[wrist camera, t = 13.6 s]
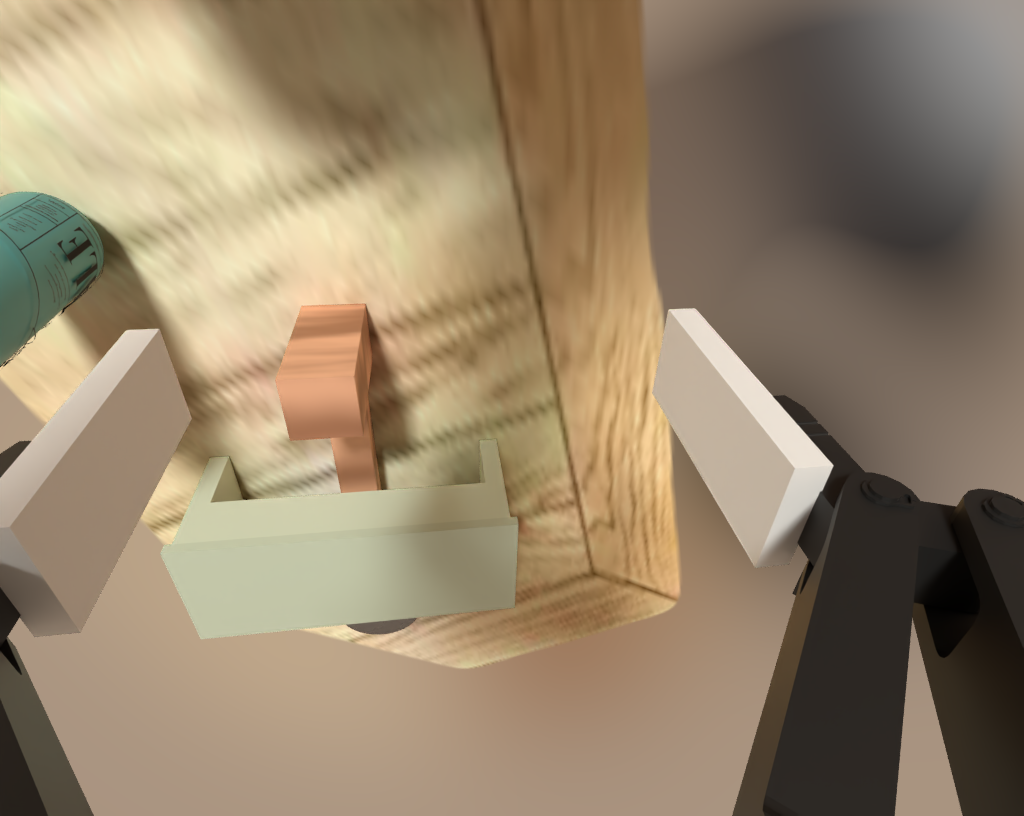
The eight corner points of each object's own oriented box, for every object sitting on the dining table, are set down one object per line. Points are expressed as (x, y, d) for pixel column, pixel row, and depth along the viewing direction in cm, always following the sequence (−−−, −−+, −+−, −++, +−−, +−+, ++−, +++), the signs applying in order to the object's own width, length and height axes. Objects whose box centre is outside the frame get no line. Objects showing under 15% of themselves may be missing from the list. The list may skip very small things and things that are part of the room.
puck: (339, 560, 58) (336, 584, 56) (421, 558, 60) (421, 582, 57) (343, 611, 63) (339, 635, 60) (418, 608, 64) (418, 632, 62)
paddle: (301, 305, 42) (275, 380, 34) (365, 303, 43) (354, 376, 35) (345, 524, 55) (333, 615, 47) (393, 520, 56) (390, 610, 48)
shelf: (203, 457, 49) (160, 553, 40) (501, 438, 52) (518, 524, 44) (233, 540, 55) (200, 639, 46) (500, 518, 58) (514, 607, 49)
